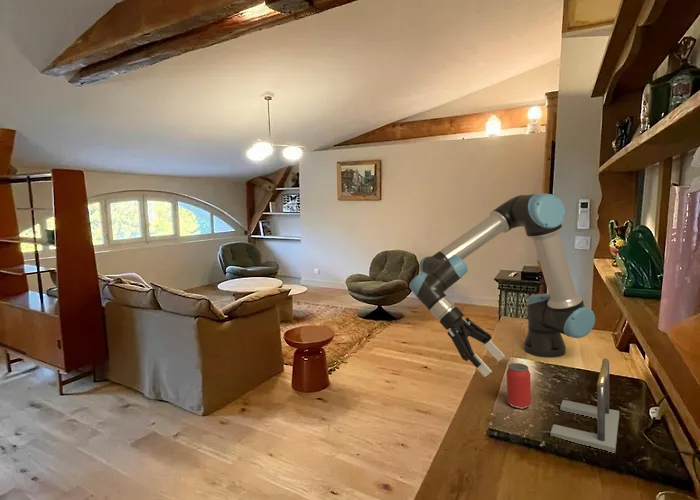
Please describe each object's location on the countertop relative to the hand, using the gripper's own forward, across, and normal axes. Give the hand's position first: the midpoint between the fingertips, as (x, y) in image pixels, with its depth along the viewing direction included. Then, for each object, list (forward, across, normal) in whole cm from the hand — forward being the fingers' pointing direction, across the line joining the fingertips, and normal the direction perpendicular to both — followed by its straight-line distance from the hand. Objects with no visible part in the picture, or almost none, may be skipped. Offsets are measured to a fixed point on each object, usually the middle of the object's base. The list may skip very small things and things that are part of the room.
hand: (495, 366), depth 125 cm
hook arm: (+28, +3, +12) cm, 31 cm away
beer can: (+13, -1, -4) cm, 13 cm away
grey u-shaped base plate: (+25, +3, +10) cm, 27 cm away
